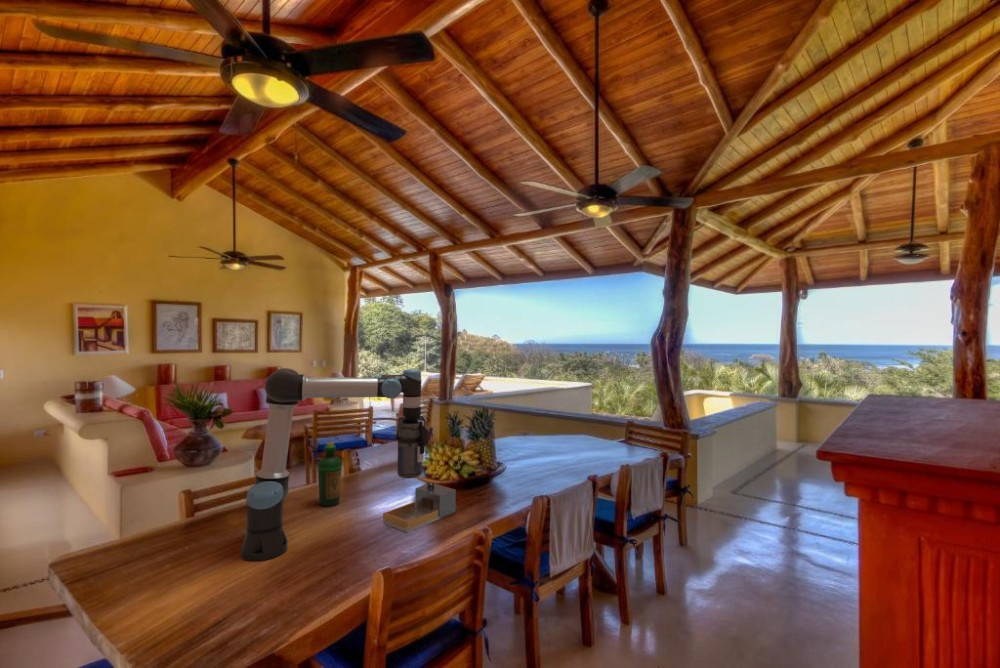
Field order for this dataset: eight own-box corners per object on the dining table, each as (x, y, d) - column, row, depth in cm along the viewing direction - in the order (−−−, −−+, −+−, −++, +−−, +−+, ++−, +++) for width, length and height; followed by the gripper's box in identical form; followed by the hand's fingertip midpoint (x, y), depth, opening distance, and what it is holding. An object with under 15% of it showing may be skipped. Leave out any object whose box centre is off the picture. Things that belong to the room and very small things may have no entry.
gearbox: (407, 532, 190) (407, 502, 190) (382, 523, 199) (383, 494, 199) (455, 512, 212) (455, 485, 212) (431, 504, 221) (431, 478, 221)
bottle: (336, 508, 215) (337, 445, 214) (313, 507, 215) (314, 445, 215) (345, 500, 225) (345, 440, 225) (322, 499, 225) (323, 440, 225)
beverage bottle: (431, 474, 203) (432, 415, 203) (406, 481, 193) (407, 419, 193) (415, 469, 210) (416, 412, 210) (391, 476, 200) (391, 416, 200)
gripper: (437, 408, 198) (437, 462, 198) (400, 402, 211) (400, 453, 211) (424, 410, 192) (423, 466, 192) (387, 404, 205) (386, 456, 205)
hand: (411, 459), depth 201 cm, fingers closed on beverage bottle, 10 cm apart
